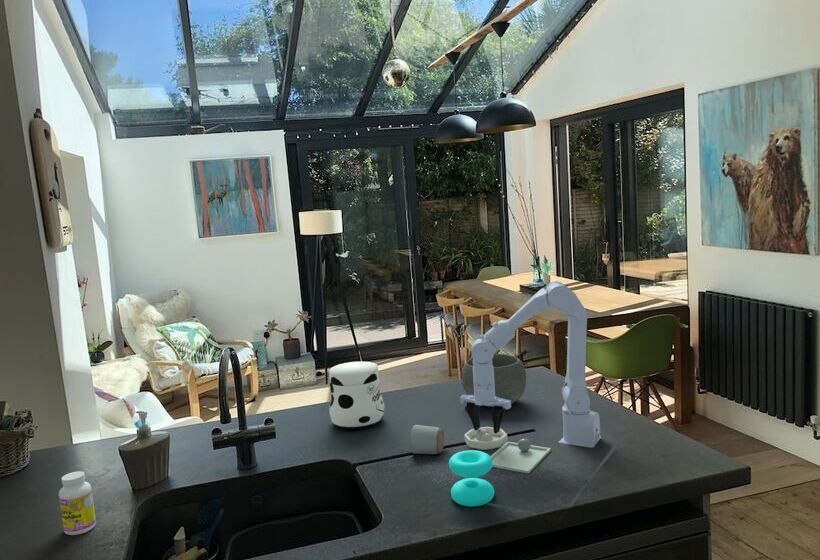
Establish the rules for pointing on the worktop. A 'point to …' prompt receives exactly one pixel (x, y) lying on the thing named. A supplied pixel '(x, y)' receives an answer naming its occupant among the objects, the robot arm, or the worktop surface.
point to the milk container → (355, 395)
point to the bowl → (500, 377)
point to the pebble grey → (479, 434)
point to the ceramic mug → (426, 440)
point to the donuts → (471, 488)
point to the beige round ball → (486, 437)
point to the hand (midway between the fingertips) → (486, 430)
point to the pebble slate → (524, 444)
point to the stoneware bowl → (497, 441)
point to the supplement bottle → (76, 504)
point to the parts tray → (518, 457)
